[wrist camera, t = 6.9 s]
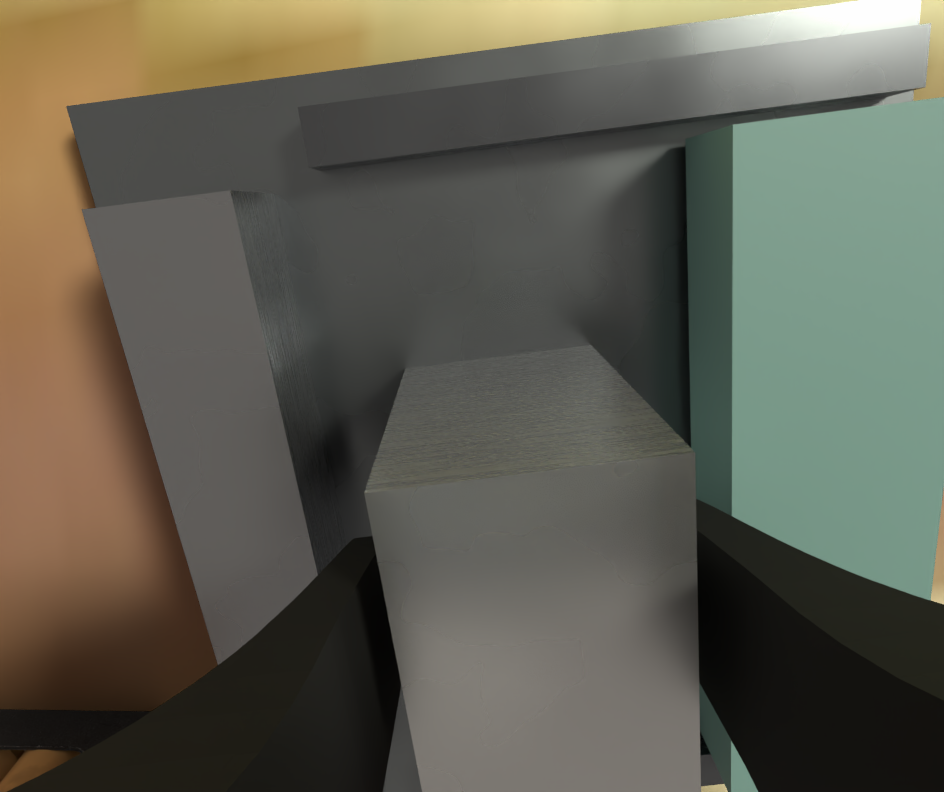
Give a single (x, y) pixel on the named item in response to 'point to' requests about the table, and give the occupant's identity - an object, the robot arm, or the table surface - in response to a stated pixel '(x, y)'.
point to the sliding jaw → (820, 341)
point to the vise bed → (418, 255)
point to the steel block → (540, 577)
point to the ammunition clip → (51, 739)
